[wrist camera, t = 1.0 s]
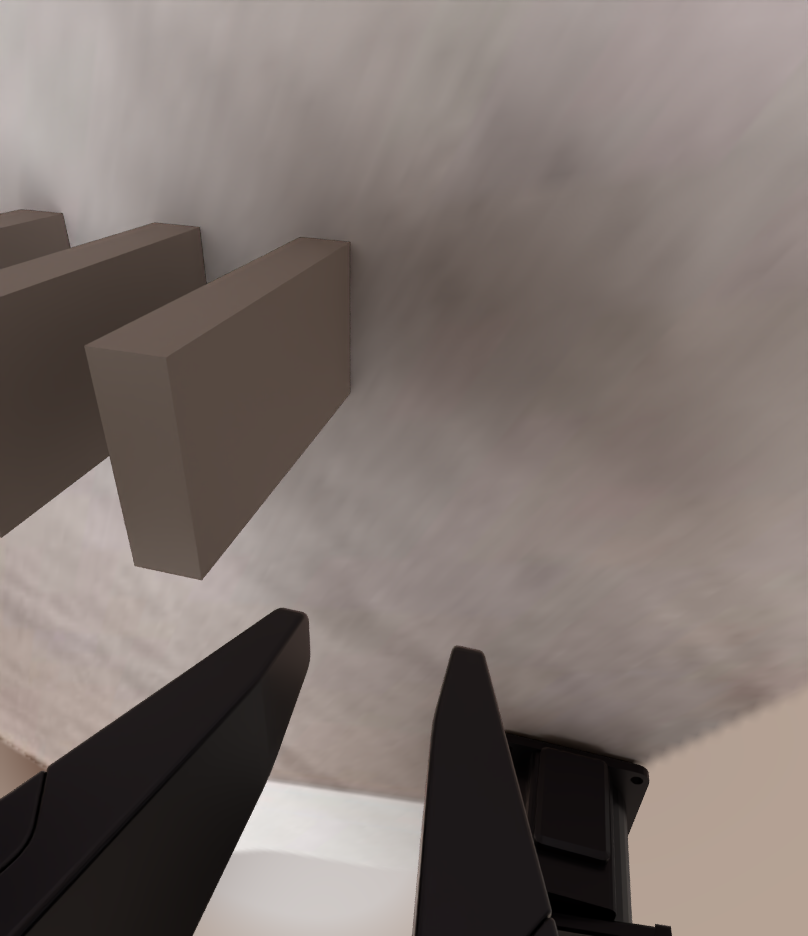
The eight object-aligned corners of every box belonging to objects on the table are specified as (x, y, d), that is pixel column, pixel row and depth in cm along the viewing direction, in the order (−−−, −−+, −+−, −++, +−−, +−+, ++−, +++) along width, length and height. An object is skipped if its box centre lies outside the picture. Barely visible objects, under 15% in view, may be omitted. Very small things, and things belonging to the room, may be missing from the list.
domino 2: (349, 242, 19) (165, 357, 11) (350, 393, 22) (201, 580, 13) (300, 237, 20) (84, 345, 11) (306, 386, 22) (134, 566, 14)
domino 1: (199, 227, 20) (-76, 323, 12) (216, 373, 23) (1, 537, 14) (154, 222, 20) (-145, 313, 12) (176, 368, 23) (-58, 525, 15)
